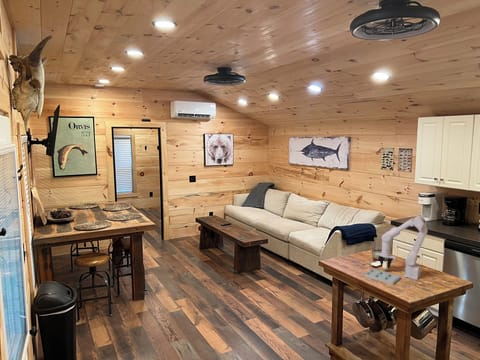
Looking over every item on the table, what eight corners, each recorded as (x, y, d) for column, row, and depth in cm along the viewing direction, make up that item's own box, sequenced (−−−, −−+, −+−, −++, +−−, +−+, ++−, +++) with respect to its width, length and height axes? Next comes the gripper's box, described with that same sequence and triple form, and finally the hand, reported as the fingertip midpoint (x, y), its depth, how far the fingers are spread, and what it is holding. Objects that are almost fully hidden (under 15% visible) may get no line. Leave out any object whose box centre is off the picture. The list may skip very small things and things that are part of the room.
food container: (384, 259, 287) (385, 247, 286) (387, 261, 281) (387, 249, 280) (369, 258, 288) (369, 247, 287) (371, 261, 282) (371, 249, 281)
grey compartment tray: (400, 278, 249) (400, 276, 249) (392, 284, 239) (392, 282, 239) (372, 271, 263) (372, 268, 262) (364, 276, 253) (364, 274, 252)
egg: (388, 268, 262) (389, 262, 261) (386, 270, 259) (387, 263, 258) (383, 267, 265) (383, 261, 264) (381, 269, 262) (381, 262, 261)
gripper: (398, 250, 258) (397, 267, 260) (378, 246, 268) (377, 263, 270) (394, 252, 253) (393, 270, 255) (374, 248, 263) (373, 265, 264)
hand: (385, 267), depth 262 cm, fingers closed on egg, 4 cm apart
